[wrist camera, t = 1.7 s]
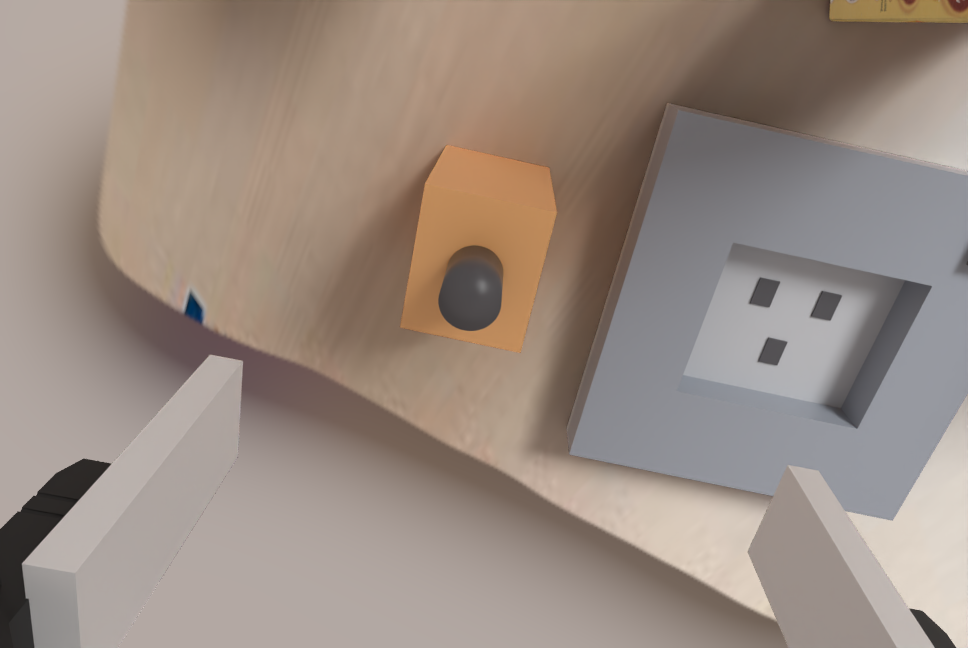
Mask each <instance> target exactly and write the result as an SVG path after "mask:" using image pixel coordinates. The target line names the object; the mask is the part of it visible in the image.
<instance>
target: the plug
mask: <svg viewBox="0 0 968 648" xmlns="http://www.w3.org/2000/svg"><path fill="white" fill-rule="evenodd" d="M556 215H557V209H556V204H555V198H554V192H553V186H552V181H551V175H550V169H549V167H544V166H540V165H535V164H531V163H526V162H522V161H517V160H513V159H508V158H504V157H499V156H495V155H490V154H486V153H481V152H477V151H472V150H468V149H463V148H459V147H454V146H450V145H446V147H445V148H444V150H443V152H442V154H441V156H440V157H439V159H438V161H437V163H436V165H435V166H434V168H433V170H432V172H431V174H430V175H429V177H428V179H427V181H426V183H425V186H424V192H423V197H422V203H421V209H420V215H419V220H418V226H417V232H416V238H415V243H414V249H413V255H412V261H411V266H410V272H409V278H408V284H407V290H406V295H405V301H404V307H403V313H402V318H401V324H400V328H404V329H409V330H414V331H419V332H423V333H428V334H433V335H438V336H442V337H447V338H452V339H457V340H461V341H466V342H471V343H476V344H480V345H485V346H490V347H495V348H500V349H504V350H509V351H514V352H519V353H521V349H522V345H523V341H524V337H525V333H526V330H527V326H528V322H529V318H530V314H531V310H532V307H533V303H534V299H535V295H536V291H537V287H538V284H539V280H540V276H541V272H542V268H543V264H544V261H545V257H546V253H547V249H548V245H549V241H550V238H551V234H552V230H553V226H554V222H555V218H556Z"/></svg>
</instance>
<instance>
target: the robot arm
mask: <svg viewBox="0 0 968 648" xmlns="http://www.w3.org/2000/svg"><path fill="white" fill-rule="evenodd" d="M242 369H243V361H240V360H235V359H230V358H225V357H220V356H214V355H210V356H208V358H207V359H206V360H205V361H204V362H203V363H202V364H201V365H200V366H199V368H198V369H197V370H196V371H195V372H194V373H193V374H192V376H190V378H189V379H188V380H187V381H186V382H185V383H184V384H183V385H182V386H181V388H180V389H179V390H178V391H177V392H176V393H175V394H174V395H173V396H172V398H171V399H170V400H169V401H168V402H167V403H166V404H165V405H164V406H163V408H162V409H161V410H160V411H159V412H158V413H157V414H156V415H155V417H154V418H153V419H152V420H151V421H150V422H149V423H148V424H147V425H146V426H145V428H144V429H143V430H142V431H141V432H140V433H139V434H138V435H137V436H136V438H135V439H134V440H133V441H132V442H131V443H130V444H129V445H128V446H127V448H126V449H125V450H124V451H123V452H122V453H121V454H120V455H119V456H118V458H117V459H116V460H115V461H114V462H113V463H112V464H110V463H104V462H99V461H94V460H88V459H82V460H80V461H78V462H76V463H75V464H73V465H71V466H69V467H67V468H65V469H64V470H61V471H60V472H58V473H56V474H55V475H54V476H53V477H52V478H51V479H50V480H49V481H48V482H47V483H46V484H45V485H44V486H43V487H42V488H41V489H40V490H39V491H38V493H37V495H36V496H33V497H32V498H31V499H30V500H29V501H28V502H27V503H26V504H25V505H24V506H23V507H22V510H21V512H17V513H16V514H15V515H14V516H13V517H12V518H11V519H10V520H9V521H8V522H7V523H6V524H5V525H4V526H3V527H2V528H1V529H0V648H118V647H119V645H120V644H121V642H122V640H123V639H124V637H125V636H126V634H127V632H128V631H129V629H130V628H131V626H132V625H133V623H134V621H135V620H136V618H137V617H138V615H139V613H140V612H141V610H142V609H143V607H144V605H145V604H146V602H147V601H148V599H149V597H150V596H151V594H152V593H153V591H154V590H155V588H156V586H157V585H158V583H159V582H160V580H161V578H162V577H163V575H164V573H165V572H166V571H167V569H168V567H169V566H170V564H171V563H172V561H173V559H174V558H175V556H176V555H177V553H178V551H179V550H180V548H181V547H182V545H183V543H184V542H185V540H186V539H187V537H188V536H189V534H190V532H191V531H192V529H193V528H194V526H195V525H196V523H197V521H198V520H199V518H200V517H201V515H202V513H203V512H204V510H205V509H206V507H207V505H208V504H209V502H210V501H211V499H212V498H213V496H214V494H215V493H216V491H217V489H218V488H219V486H220V485H221V483H222V482H223V480H224V478H225V477H226V475H227V474H228V472H229V470H230V469H231V467H232V466H233V464H234V463H235V461H236V459H237V458H238V445H239V427H240V408H241V387H242ZM748 554H749V556H750V558H751V561H752V563H753V566H754V568H755V570H756V573H757V575H758V577H759V580H760V582H761V584H762V587H763V589H764V591H765V594H766V596H767V598H768V601H769V603H770V605H771V608H772V610H773V612H774V615H775V617H776V619H777V622H778V624H779V627H780V629H781V631H782V633H783V636H784V638H785V641H786V643H787V645H788V648H956V647H955V645H954V644H953V642H952V641H951V640H950V638H949V637H948V635H947V634H946V633H945V632H944V631H943V630H942V629H941V628H940V627H939V626H938V625H937V624H936V623H935V622H933V621H932V620H931V619H930V618H929V617H928V616H927V615H926V614H925V613H924V612H923V611H920V610H915V609H909V608H908V606H907V605H906V603H905V602H904V600H903V599H902V597H901V596H900V594H899V593H898V591H897V590H896V588H895V587H894V585H893V583H892V582H891V580H890V579H889V577H888V576H887V574H886V573H885V571H884V570H883V568H882V567H881V565H880V564H879V562H878V561H877V559H876V558H875V556H874V555H873V553H872V551H871V550H870V548H869V547H868V545H867V544H866V542H865V541H864V539H863V538H862V536H861V535H860V533H859V532H858V530H857V529H856V527H855V526H854V524H853V523H852V521H851V519H850V518H849V516H848V515H847V513H846V512H845V510H844V509H843V507H842V506H841V504H840V503H839V501H838V500H837V498H836V497H835V495H834V494H833V492H832V491H831V489H830V488H829V486H828V484H827V483H826V481H825V480H824V478H823V477H822V475H821V474H820V472H819V471H818V470H812V469H807V468H802V467H797V466H791V465H787V467H786V470H785V472H784V474H783V476H782V478H781V480H780V483H779V485H778V487H777V489H776V491H775V493H774V496H773V498H772V500H771V502H770V504H769V506H768V508H767V511H766V513H765V515H764V517H763V519H762V521H761V524H760V526H759V528H758V530H757V532H756V534H755V537H754V539H753V541H752V543H751V545H750V547H749V550H748Z"/></svg>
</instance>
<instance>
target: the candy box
mask: <svg viewBox="0 0 968 648" xmlns="http://www.w3.org/2000/svg"><path fill="white" fill-rule="evenodd" d="M829 19H830V20H831V21H840V22H937V23H968V0H830V12H829Z"/></svg>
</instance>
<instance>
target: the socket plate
mask: <svg viewBox="0 0 968 648" xmlns="http://www.w3.org/2000/svg"><path fill="white" fill-rule="evenodd" d="M967 394H968V171H965V170H961V169H956V168H952V167H948V166H943V165H939V164H934V163H930V162H926V161H921V160H917V159H912V158H908V157H904V156H899V155H895V154H890V153H886V152H882V151H877V150H873V149H868V148H864V147H859V146H855V145H851V144H846V143H842V142H837V141H833V140H829V139H824V138H820V137H815V136H811V135H807V134H802V133H798V132H793V131H789V130H785V129H780V128H776V127H771V126H767V125H763V124H758V123H754V122H749V121H745V120H741V119H736V118H732V117H727V116H723V115H719V114H714V113H710V112H705V111H701V110H696V109H692V108H688V107H683V106H679V105H674V104H670V103H667V105H666V108H665V112H664V115H663V118H662V121H661V124H660V128H659V131H658V134H657V137H656V141H655V144H654V147H653V150H652V154H651V157H650V160H649V163H648V166H647V170H646V173H645V176H644V179H643V183H642V186H641V189H640V192H639V196H638V199H637V202H636V205H635V208H634V212H633V215H632V218H631V221H630V225H629V228H628V231H627V234H626V238H625V241H624V244H623V247H622V250H621V254H620V257H619V260H618V263H617V267H616V270H615V273H614V276H613V280H612V283H611V286H610V289H609V292H608V296H607V299H606V302H605V305H604V309H603V312H602V315H601V318H600V322H599V325H598V328H597V331H596V334H595V338H594V341H593V344H592V347H591V351H590V354H589V357H588V360H587V364H586V367H585V370H584V373H583V377H582V380H581V383H580V386H579V389H578V393H577V396H576V399H575V402H574V406H573V409H572V412H571V415H570V419H569V422H568V425H567V428H566V429H567V439H568V448H569V455H574V456H579V457H584V458H589V459H593V460H598V461H603V462H608V463H613V464H618V465H623V466H628V467H633V468H638V469H642V470H647V471H652V472H657V473H662V474H667V475H672V476H677V477H682V478H686V479H691V480H696V481H701V482H706V483H711V484H716V485H721V486H726V487H730V488H735V489H740V490H745V491H750V492H755V493H760V494H765V495H770V496H774V493H775V491H776V489H777V487H778V485H779V483H780V480H781V478H782V476H783V474H784V472H785V470H786V467H787V465H791V466H797V467H802V468H807V469H812V470H818V471H819V472H820V474H821V475H822V477H823V478H824V480H825V481H826V483H827V484H828V486H829V488H830V489H831V491H832V492H833V494H834V495H835V497H836V498H837V500H838V501H839V503H840V504H841V506H842V507H843V509H844V510H845V511H848V512H853V513H858V514H863V515H867V516H872V517H877V518H882V519H887V520H892V521H893V519H894V517H895V516H896V514H897V512H898V511H899V509H900V507H901V506H902V504H903V502H904V500H905V499H906V497H907V495H908V494H909V492H910V490H911V489H912V487H913V485H914V484H915V482H916V480H917V478H918V477H919V475H920V473H921V472H922V470H923V468H924V467H925V465H926V463H927V462H928V460H929V458H930V456H931V455H932V453H933V451H934V450H935V448H936V446H937V445H938V443H939V441H940V440H941V438H942V436H943V434H944V433H945V431H946V429H947V428H948V426H949V424H950V423H951V421H952V419H953V418H954V416H955V414H956V412H957V411H958V409H959V407H960V406H961V404H962V402H963V401H964V399H965V397H966V396H967Z"/></svg>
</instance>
